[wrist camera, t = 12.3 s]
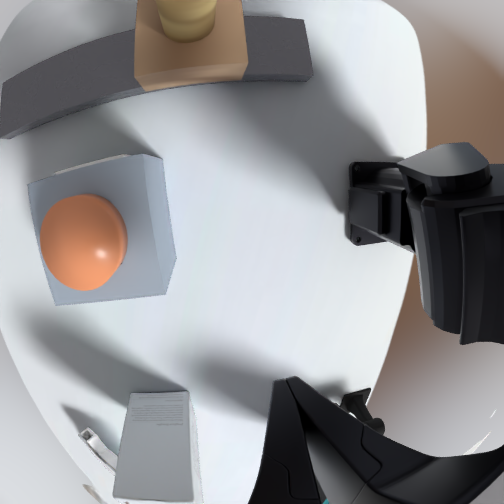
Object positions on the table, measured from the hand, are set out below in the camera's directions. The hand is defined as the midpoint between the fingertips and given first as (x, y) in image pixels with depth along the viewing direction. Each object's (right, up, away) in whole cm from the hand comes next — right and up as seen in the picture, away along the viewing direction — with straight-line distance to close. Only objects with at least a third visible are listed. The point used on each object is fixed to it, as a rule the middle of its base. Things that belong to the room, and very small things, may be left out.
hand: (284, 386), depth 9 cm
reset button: (-10, +6, +5) cm, 13 cm away
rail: (-9, +18, +6) cm, 21 cm away
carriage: (-5, +18, +5) cm, 19 cm away
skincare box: (-10, -10, +14) cm, 20 cm away
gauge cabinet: (-10, +7, +9) cm, 15 cm away
